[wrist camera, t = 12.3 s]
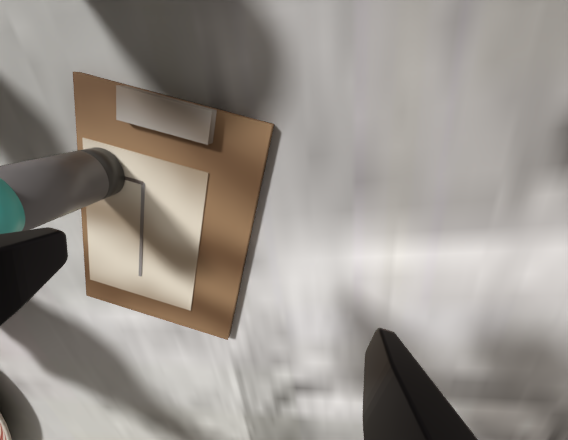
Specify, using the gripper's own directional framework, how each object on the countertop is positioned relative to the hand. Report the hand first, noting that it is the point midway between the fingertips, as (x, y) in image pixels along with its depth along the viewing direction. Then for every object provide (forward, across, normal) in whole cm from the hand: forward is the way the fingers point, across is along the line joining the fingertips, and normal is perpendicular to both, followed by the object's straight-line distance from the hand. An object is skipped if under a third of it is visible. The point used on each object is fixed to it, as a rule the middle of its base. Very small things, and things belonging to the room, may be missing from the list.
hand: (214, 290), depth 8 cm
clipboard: (+12, +8, +6) cm, 16 cm away
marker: (+12, +12, +3) cm, 17 cm away
